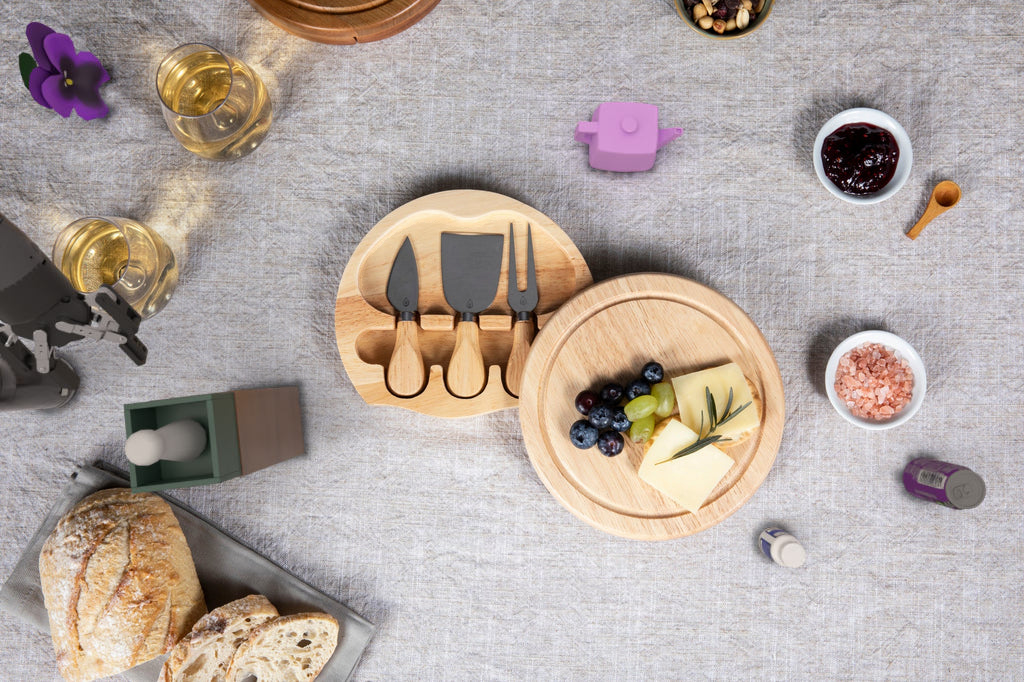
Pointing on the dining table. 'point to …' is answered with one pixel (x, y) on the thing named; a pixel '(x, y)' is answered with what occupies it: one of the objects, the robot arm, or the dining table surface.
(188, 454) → the salt shaker
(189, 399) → the bin
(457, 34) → the dining table surface
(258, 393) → the stand
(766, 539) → the pill bottle
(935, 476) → the beverage can
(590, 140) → the teapot
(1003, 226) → the dining table surface
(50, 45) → the flower
